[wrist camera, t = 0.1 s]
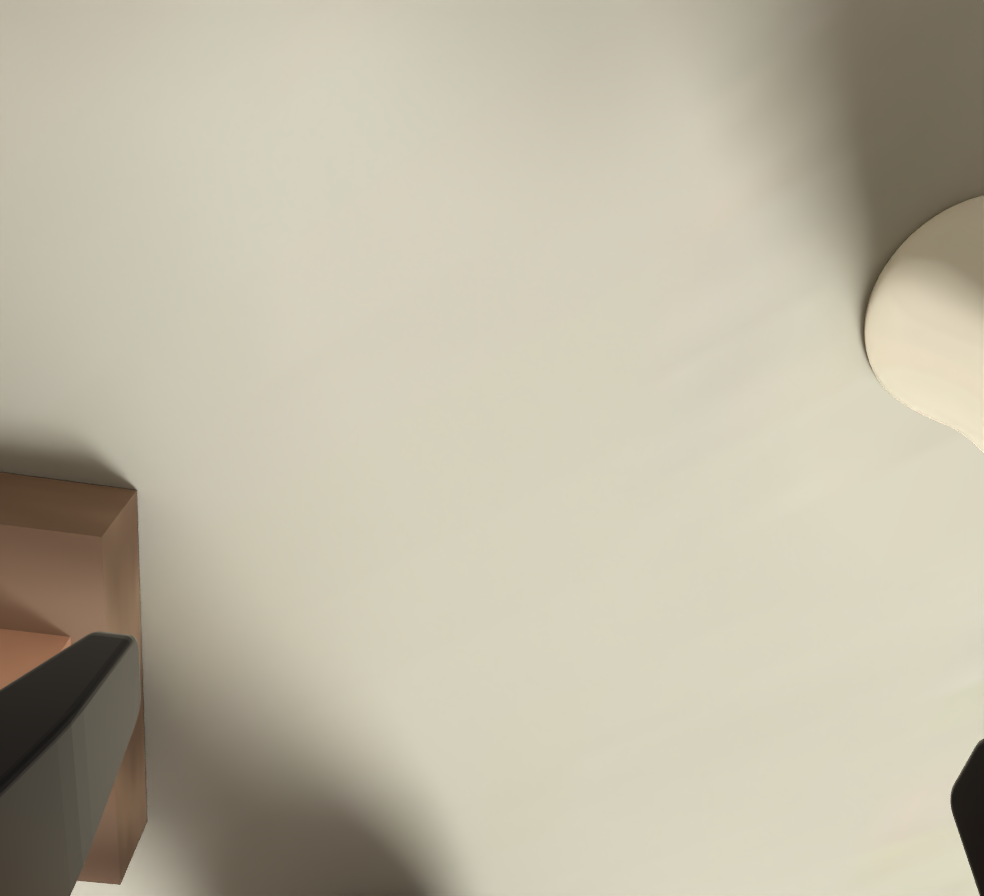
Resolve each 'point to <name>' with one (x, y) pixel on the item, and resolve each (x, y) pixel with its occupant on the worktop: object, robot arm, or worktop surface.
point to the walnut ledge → (79, 612)
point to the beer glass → (934, 321)
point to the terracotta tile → (26, 652)
